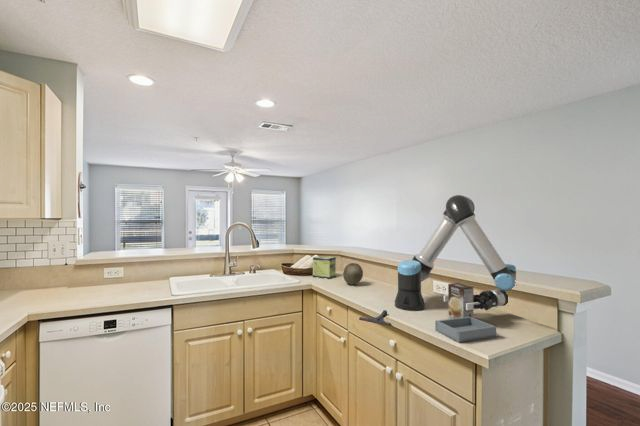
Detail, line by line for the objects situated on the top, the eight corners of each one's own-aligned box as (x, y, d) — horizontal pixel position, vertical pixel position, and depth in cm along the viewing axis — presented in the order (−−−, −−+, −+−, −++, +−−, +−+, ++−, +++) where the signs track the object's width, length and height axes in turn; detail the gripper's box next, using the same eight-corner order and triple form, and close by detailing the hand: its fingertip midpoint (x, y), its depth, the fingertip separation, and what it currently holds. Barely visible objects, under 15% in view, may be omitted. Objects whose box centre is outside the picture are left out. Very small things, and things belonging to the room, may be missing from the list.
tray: (435, 330, 124) (435, 320, 124) (470, 325, 130) (470, 316, 130) (458, 342, 112) (458, 332, 112) (496, 337, 117) (496, 326, 117)
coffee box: (447, 318, 139) (447, 283, 139) (457, 316, 141) (457, 282, 142) (463, 325, 131) (463, 287, 131) (474, 323, 133) (474, 286, 133)
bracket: (400, 317, 142) (400, 312, 142) (389, 327, 129) (389, 320, 129) (371, 313, 149) (371, 307, 149) (359, 321, 137) (359, 315, 137)
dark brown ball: (339, 285, 207) (339, 263, 207) (348, 282, 219) (348, 261, 219) (358, 288, 199) (358, 265, 200) (366, 284, 211) (366, 262, 212)
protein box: (329, 279, 229) (329, 258, 229) (312, 277, 237) (312, 257, 237) (336, 277, 238) (336, 257, 238) (319, 275, 246) (319, 256, 246)
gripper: (516, 314, 130) (477, 319, 123) (470, 299, 154) (436, 303, 147) (515, 297, 130) (477, 301, 123) (470, 285, 154) (436, 288, 147)
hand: (454, 302), depth 135 cm, fingers open, 13 cm apart
